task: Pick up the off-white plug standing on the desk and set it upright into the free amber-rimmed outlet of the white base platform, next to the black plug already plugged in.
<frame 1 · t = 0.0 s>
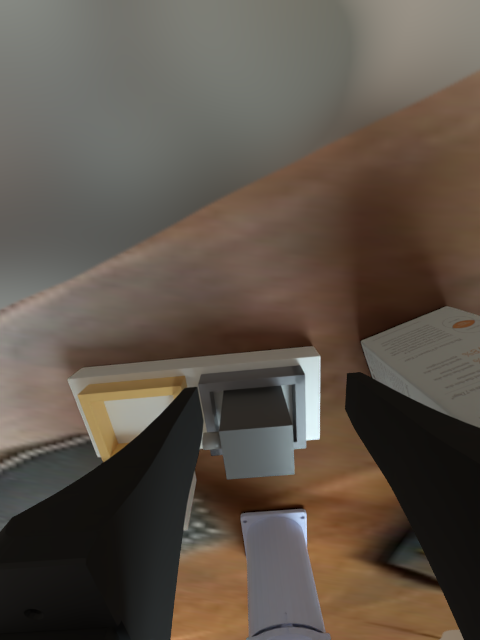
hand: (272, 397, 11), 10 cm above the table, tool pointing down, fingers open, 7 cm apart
white base platform: (203, 397, 23), on the table
twin plug: (253, 406, 21), point 2 cm above the table, touching white base platform
small box: (407, 350, 22), on the table
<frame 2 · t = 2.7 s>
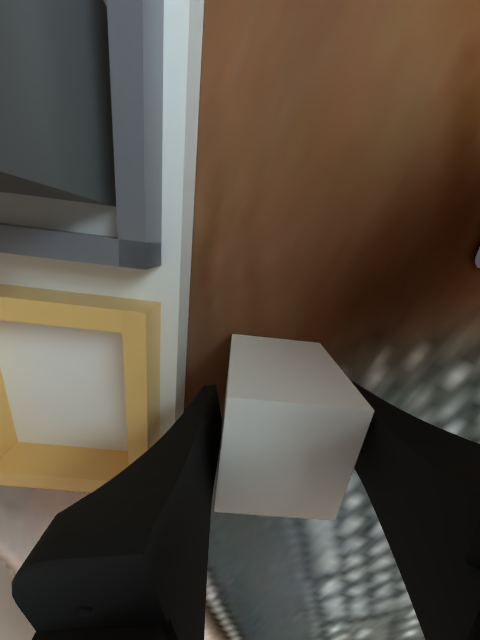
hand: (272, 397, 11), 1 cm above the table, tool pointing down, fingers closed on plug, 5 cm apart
plug: (268, 380, 12), on the table, touching gripper
white base platform: (91, 267, 10), on the table
twin plug: (37, 107, 7), point 2 cm above the table, touching white base platform
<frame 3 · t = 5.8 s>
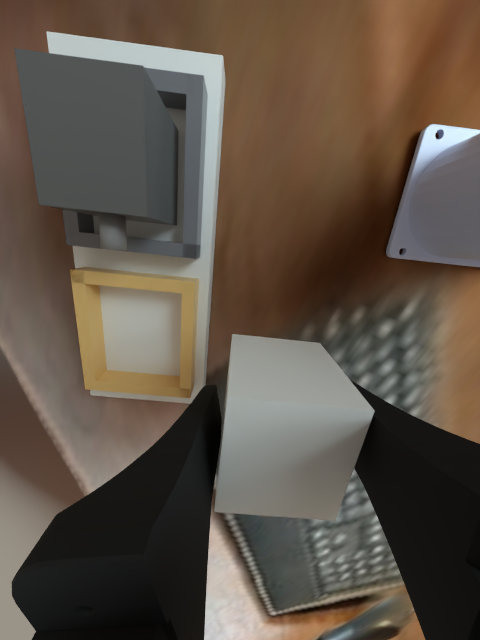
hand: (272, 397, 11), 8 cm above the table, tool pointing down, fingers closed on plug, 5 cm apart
plug: (268, 380, 12), point 7 cm above the table, touching gripper
white base platform: (153, 260, 17), on the table
twin plug: (139, 176, 14), point 2 cm above the table, touching white base platform
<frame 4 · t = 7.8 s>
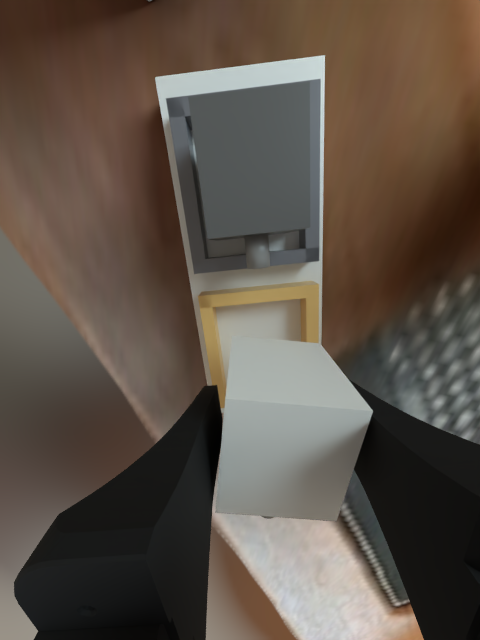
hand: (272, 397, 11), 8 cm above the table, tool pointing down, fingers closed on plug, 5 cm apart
plug: (269, 381, 12), point 7 cm above the table, touching gripper
white base platform: (253, 272, 17), on the table
twin plug: (249, 193, 14), point 2 cm above the table, touching white base platform
when the fingers open (4 cm above the table, at t = 9.2 s): plug stays where it is, resting on white base platform.
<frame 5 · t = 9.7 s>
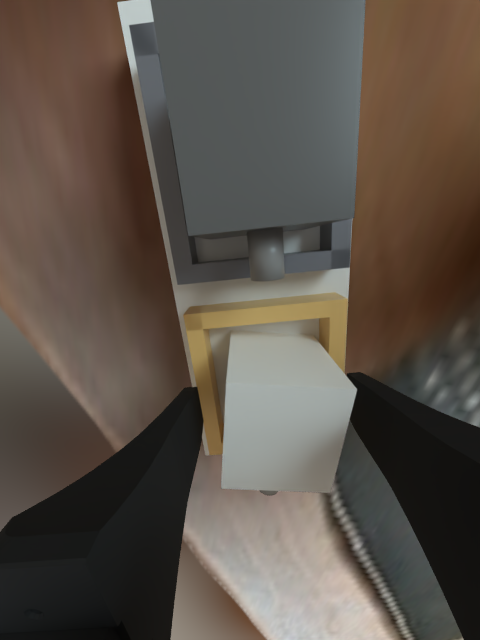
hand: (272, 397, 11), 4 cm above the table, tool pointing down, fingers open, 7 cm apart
plug: (267, 372, 13), point 2 cm above the table, touching white base platform
white base platform: (257, 280, 14), on the table
twin plug: (252, 174, 10), point 2 cm above the table, touching white base platform
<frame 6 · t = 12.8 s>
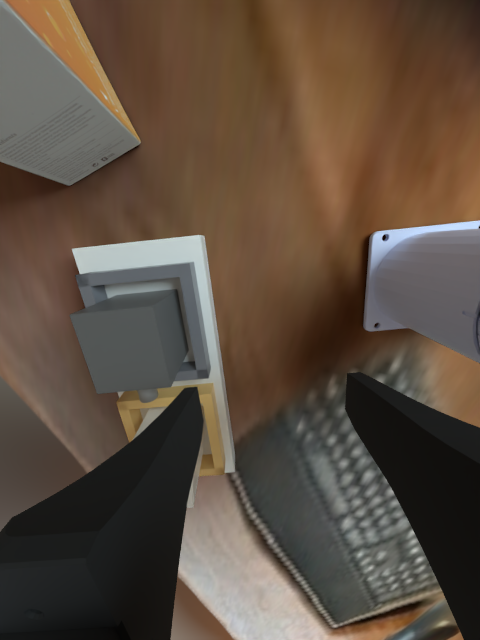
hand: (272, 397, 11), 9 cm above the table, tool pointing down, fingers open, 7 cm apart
plug: (178, 427, 21), point 2 cm above the table, touching white base platform
white base platform: (173, 367, 21), on the table
twin plug: (154, 323, 18), point 2 cm above the table, touching white base platform
small box: (72, 104, 15), on the table
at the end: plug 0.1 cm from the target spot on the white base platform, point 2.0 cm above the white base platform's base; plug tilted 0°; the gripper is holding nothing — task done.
